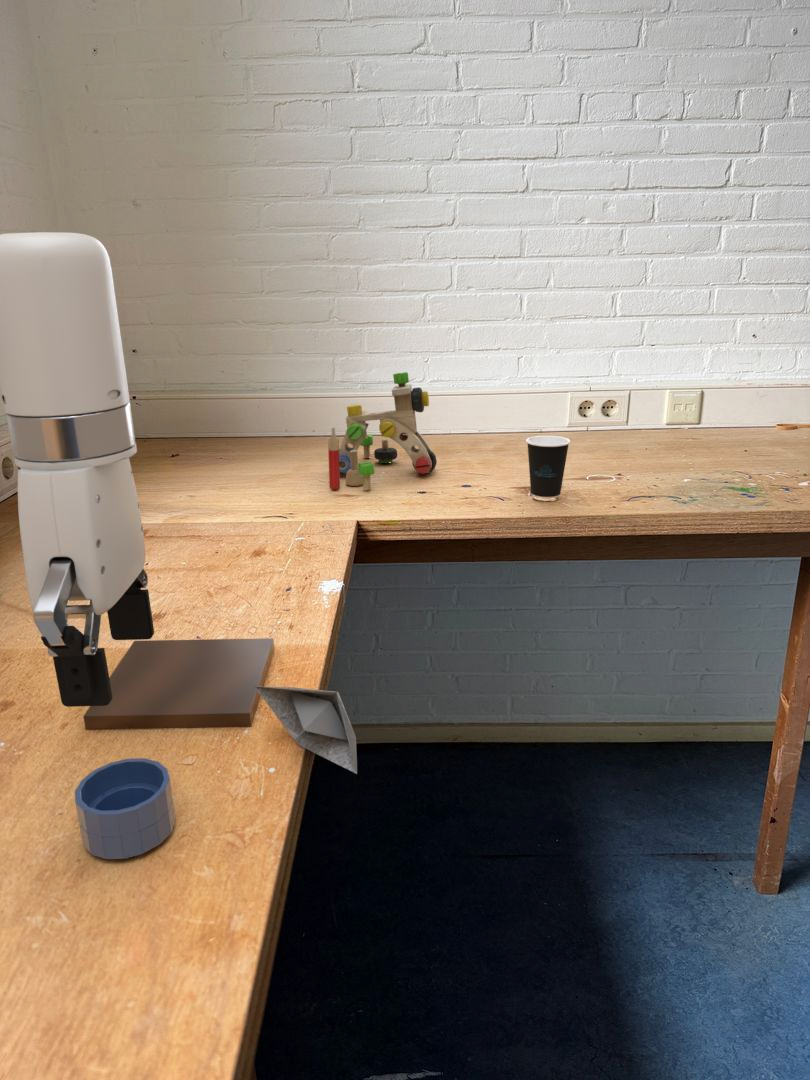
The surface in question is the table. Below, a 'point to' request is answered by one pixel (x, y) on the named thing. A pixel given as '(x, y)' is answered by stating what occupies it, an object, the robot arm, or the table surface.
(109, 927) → the table surface
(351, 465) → the toy construction set
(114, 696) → the board
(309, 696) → the paper boat
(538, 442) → the dixie cup
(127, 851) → the bowl
